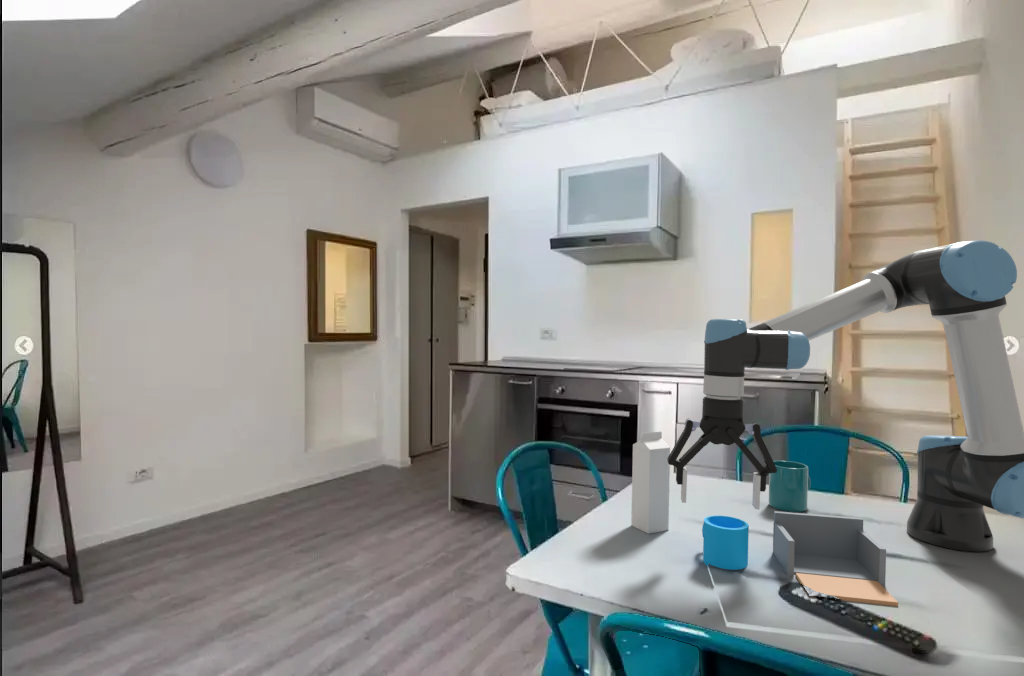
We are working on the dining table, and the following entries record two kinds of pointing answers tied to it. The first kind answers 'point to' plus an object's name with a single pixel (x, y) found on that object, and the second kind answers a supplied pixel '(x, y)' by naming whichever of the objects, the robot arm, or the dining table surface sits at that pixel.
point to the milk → (650, 483)
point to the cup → (789, 486)
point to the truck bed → (827, 547)
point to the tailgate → (848, 589)
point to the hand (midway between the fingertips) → (719, 504)
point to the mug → (725, 542)
